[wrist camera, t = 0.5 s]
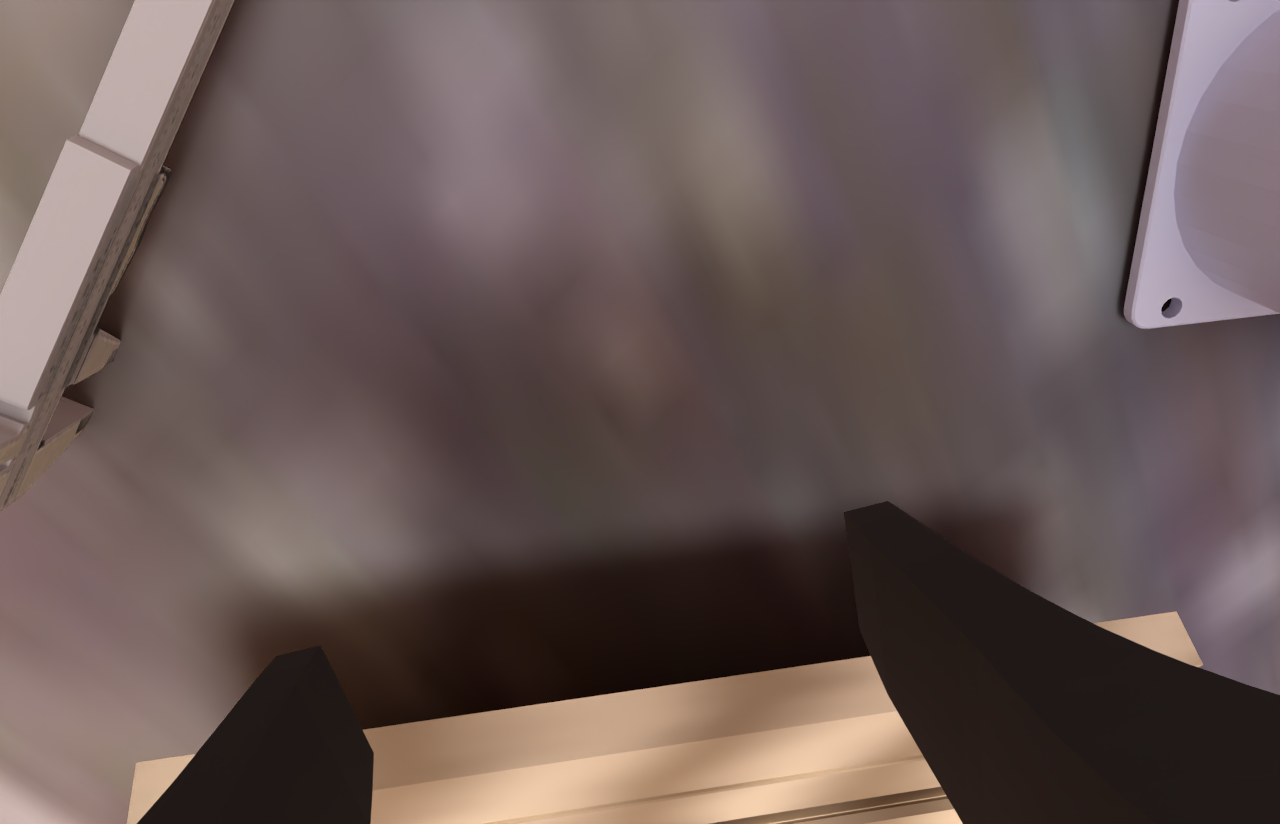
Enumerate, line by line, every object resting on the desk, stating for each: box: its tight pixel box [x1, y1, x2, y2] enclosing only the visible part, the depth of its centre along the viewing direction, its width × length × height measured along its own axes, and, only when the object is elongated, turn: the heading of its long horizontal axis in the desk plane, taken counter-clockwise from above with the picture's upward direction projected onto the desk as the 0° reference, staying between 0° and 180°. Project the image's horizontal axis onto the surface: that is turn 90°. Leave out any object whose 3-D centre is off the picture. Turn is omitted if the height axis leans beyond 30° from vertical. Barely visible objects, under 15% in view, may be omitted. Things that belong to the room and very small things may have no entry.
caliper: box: [0, 0, 235, 511], centre depth 14 cm, size 20×1×6 cm, turn 150°
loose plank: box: [127, 612, 1203, 824], centre depth 23 cm, size 22×10×1 cm
